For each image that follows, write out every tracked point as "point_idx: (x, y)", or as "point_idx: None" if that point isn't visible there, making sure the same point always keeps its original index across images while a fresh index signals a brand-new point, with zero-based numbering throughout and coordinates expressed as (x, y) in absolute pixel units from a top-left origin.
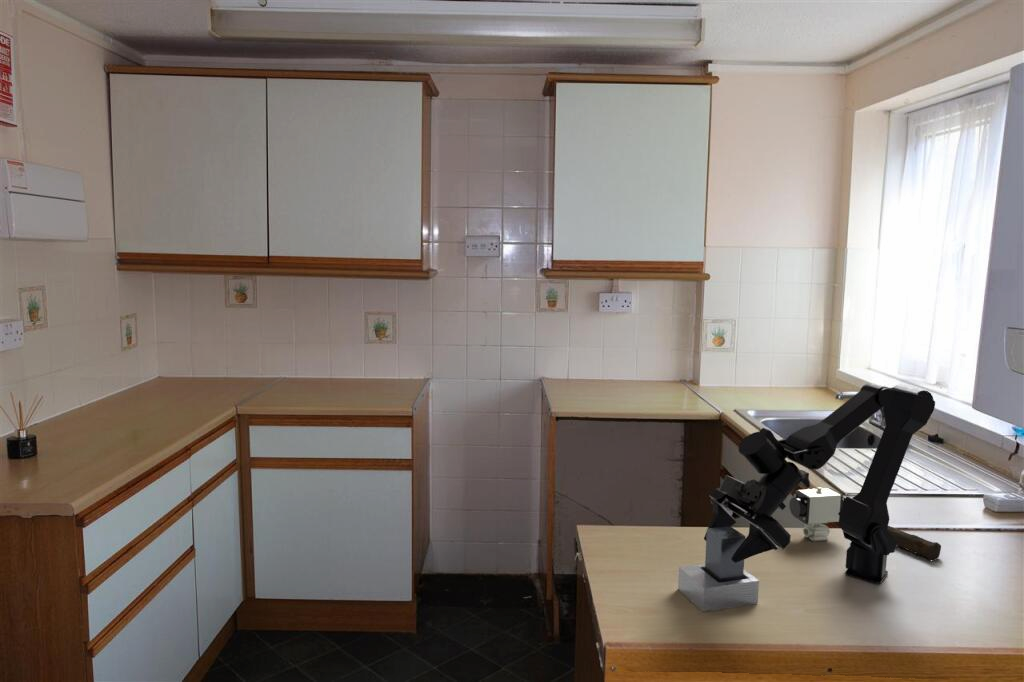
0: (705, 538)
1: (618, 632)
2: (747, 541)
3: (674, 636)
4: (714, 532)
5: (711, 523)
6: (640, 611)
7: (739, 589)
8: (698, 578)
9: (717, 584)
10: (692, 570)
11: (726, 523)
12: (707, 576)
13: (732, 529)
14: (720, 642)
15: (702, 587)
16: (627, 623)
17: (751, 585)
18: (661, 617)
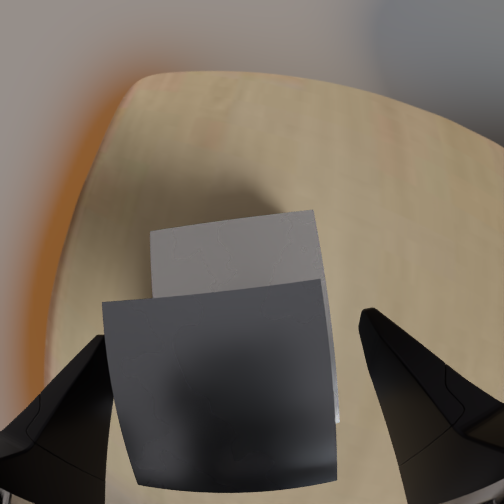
0: (365, 313)
1: (156, 84)
2: (28, 415)
3: (111, 159)
4: (227, 309)
5: (431, 369)
6: (210, 121)
7: None
8: (216, 241)
9: (163, 287)
10: (279, 245)
11: (413, 466)
12: (224, 280)
13: (266, 476)
14: (71, 235)
15: (158, 230)
16: (176, 96)
17: None
18: (176, 151)
